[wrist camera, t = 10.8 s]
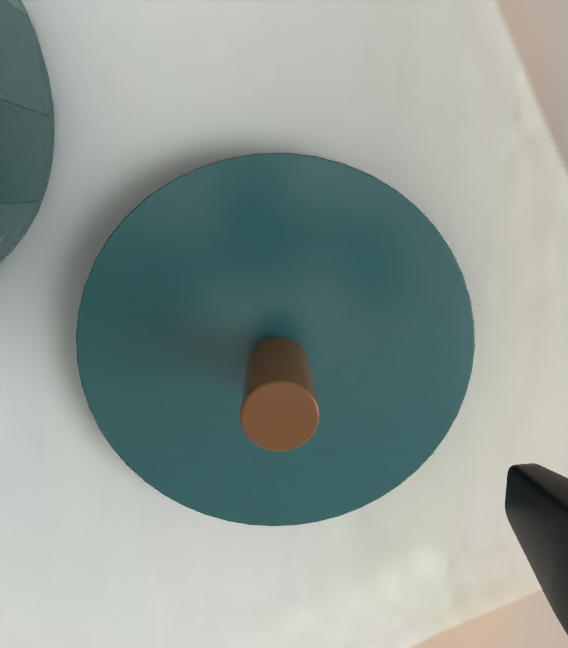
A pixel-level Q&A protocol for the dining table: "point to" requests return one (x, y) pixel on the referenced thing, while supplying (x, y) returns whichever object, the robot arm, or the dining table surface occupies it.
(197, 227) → the lid
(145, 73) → the dining table surface
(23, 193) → the pot
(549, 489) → the robot arm
